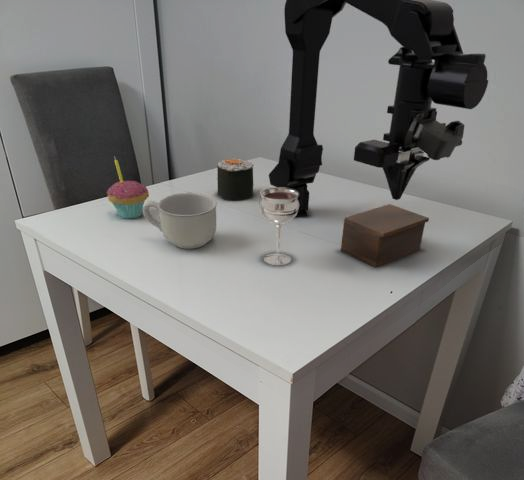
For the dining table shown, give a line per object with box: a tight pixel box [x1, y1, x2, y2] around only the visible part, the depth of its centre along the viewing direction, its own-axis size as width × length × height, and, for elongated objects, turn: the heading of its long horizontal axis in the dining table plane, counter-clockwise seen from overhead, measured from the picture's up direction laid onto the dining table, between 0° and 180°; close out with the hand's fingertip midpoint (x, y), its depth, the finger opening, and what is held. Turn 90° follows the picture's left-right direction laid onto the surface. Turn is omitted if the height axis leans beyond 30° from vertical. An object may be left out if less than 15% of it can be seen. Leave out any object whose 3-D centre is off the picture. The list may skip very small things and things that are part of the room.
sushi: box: [217, 157, 255, 202], centre depth 116 cm, size 8×8×8 cm
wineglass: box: [259, 186, 300, 266], centre depth 85 cm, size 7×7×12 cm
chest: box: [340, 221, 426, 268], centre depth 91 cm, size 9×13×6 cm
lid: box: [343, 203, 430, 237], centre depth 88 cm, size 9×13×1 cm
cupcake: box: [106, 155, 150, 219], centre depth 103 cm, size 9×8×12 cm
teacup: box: [142, 192, 217, 250], centre depth 92 cm, size 14×11×8 cm
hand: (396, 199), depth 85 cm, fingers closed
